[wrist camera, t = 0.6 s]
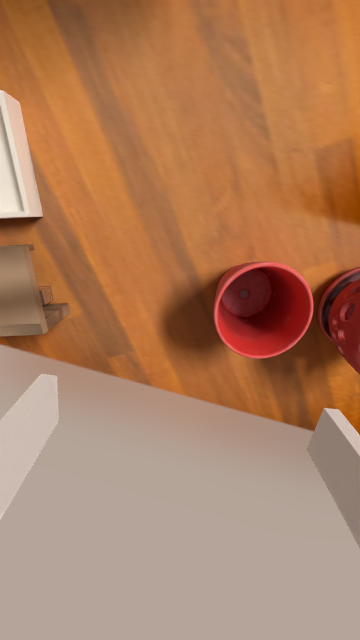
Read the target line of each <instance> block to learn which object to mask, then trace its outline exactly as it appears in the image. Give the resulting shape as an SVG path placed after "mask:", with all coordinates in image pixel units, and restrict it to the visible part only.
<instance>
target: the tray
mask: <svg viewBox="0 0 360 640" xmlns="http://www.w3.org/2000/svg"><path fill="white" fill-rule="evenodd" d="M27 217H43V213H42V208H41V204H40V199H39V194H38V189H37V184H36V180H35V175H34V170H33V165H32V160H31V156H30V151H29V146H28V141H27V136H26V131H25V127H24V122H23V117H22V112H21V107H20V103H19V102H18V101H17V100H15V99H14V98H13V97H11V96H10V95H9V94H7V93H6V92H4V91H3V90H0V219H6V218H27Z"/></svg>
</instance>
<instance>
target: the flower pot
mask: <svg viewBox="0 0 360 640" xmlns="http://www.w3.org/2000/svg"><path fill="white" fill-rule="evenodd" d="M213 314H214V324H215V327H216V330H217V333H218V335H219V337H220V338H221V340H222V341H223V343H224V344H225V345H226V346H227V347H228V348H230V349H231V350H232V351H234V352H235V353H237V354H239V355H242V356H244V357H248V358H256V359H259V358H268V357H272V356H276V355H278V354H281V353H283V352H285V351H286V350H288V349H289V348H291V347H292V346H293V345H295V344H296V343H297V342H298V341H299V340H300V339H301V337H302V336H303V335H304V333H305V332H306V330H307V328H308V327H309V324H310V322H311V319H312V315H313V297H312V293H311V290H310V288H309V285H308V284H307V282H306V281H305V279H304V278H303V277H302V276H301V275H300V274H299V273H298V272H297V271H296V270H294V269H292V268H291V267H289V266H286V265H284V264H280V263H276V262H252V263H245V264H241V265H238V266H235V267H233V268H231V269H230V270H228V271H227V272H226V273H225V274H224V275H223V277H222V278H221V280H220V282H219V284H218V288H217V291H216V296H215V301H214V313H213Z"/></svg>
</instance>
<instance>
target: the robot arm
mask: <svg viewBox="0 0 360 640" xmlns="http://www.w3.org/2000/svg"><path fill="white" fill-rule="evenodd" d="M58 422H59V415H58V381H57V376H54V375H46V374H40V376H39V377H38V378H37V379H36V380H35V381H34V382H33V384H32V385H31V386H30V387H29V388H28V389H27V391H25V393H24V394H23V395H22V396H21V397H20V398H19V399H18V401H17V402H16V403H15V404H14V405H13V406H12V407H11V408H10V410H9V411H8V412H7V413H6V414H5V415H4V416H3V417H2V419H1V420H0V519H1V517H2V516H3V514H4V513H5V511H6V509H7V508H8V506H9V504H10V502H11V501H12V499H13V498H14V496H15V494H16V493H17V491H18V489H19V487H20V486H21V484H22V482H23V481H24V479H25V477H26V476H27V474H28V472H29V471H30V469H31V467H32V466H33V464H34V462H35V461H36V459H37V457H38V455H39V454H40V452H41V450H42V449H43V447H44V445H45V444H46V442H47V440H48V439H49V437H50V435H51V434H52V432H53V430H54V429H55V427H56V425H57V423H58ZM307 450H308V452H309V454H310V456H311V458H312V460H313V461H314V463H315V465H316V467H317V469H318V471H319V473H320V475H321V476H322V478H323V480H324V482H325V484H326V485H327V488H328V489H329V491H330V493H331V495H332V496H333V499H334V501H335V502H336V504H337V506H338V508H339V510H340V512H341V514H342V515H343V517H344V519H345V521H346V523H347V525H348V527H349V528H350V530H351V532H352V534H353V536H354V538H355V540H356V542H357V543H358V545H359V547H360V435H359V434H358V433H357V431H356V430H355V429H354V428H353V426H352V425H351V424H350V423H349V422H348V420H347V419H346V418H345V417H344V415H343V414H342V413H341V412H340V410H337V409H329V408H324V409H323V412H322V414H321V417H320V419H319V421H318V424H317V426H316V429H315V431H314V434H313V436H312V438H311V441H310V443H309V446H308V448H307Z"/></svg>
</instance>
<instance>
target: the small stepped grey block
mask: <svg viewBox="0 0 360 640" xmlns="http://www.w3.org/2000/svg"><path fill="white" fill-rule="evenodd" d="M38 289H39V294H40V298H41V302H42V305H46V304H47V303H49V302H51V301H52V300H53V296H52V291H51V286H39V287H38Z"/></svg>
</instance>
